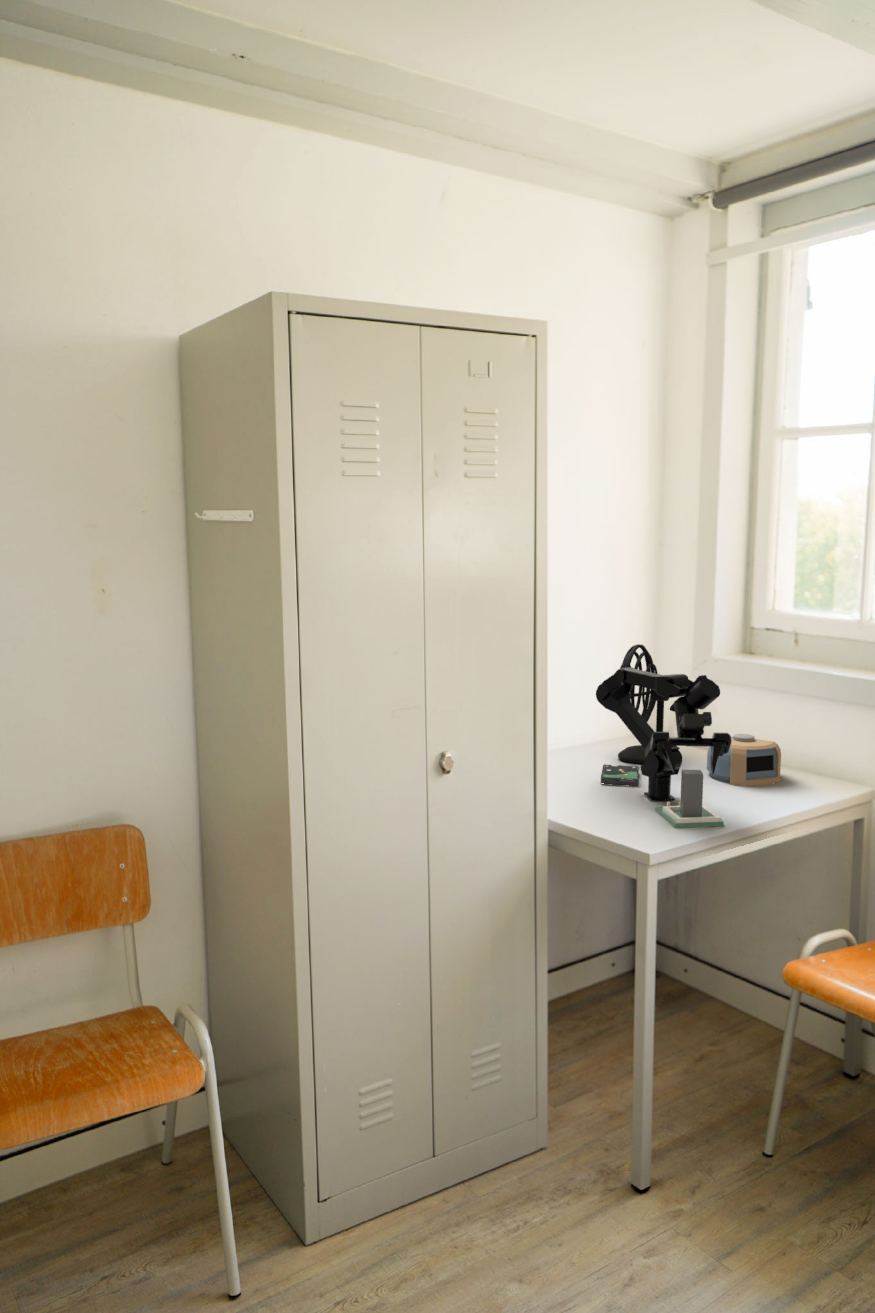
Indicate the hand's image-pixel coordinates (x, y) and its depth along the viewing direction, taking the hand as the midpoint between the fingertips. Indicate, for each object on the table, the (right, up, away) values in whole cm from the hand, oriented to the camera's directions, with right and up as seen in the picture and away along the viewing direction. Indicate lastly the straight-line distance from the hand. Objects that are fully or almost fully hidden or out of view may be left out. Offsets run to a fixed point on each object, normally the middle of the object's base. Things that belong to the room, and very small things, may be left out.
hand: (693, 772), depth 229 cm
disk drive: (-10, -8, +41) cm, 43 cm away
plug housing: (0, -11, +3) cm, 11 cm away
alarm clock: (+26, -7, +44) cm, 51 cm away
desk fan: (+3, -4, +67) cm, 67 cm away
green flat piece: (0, -12, +5) cm, 13 cm away
